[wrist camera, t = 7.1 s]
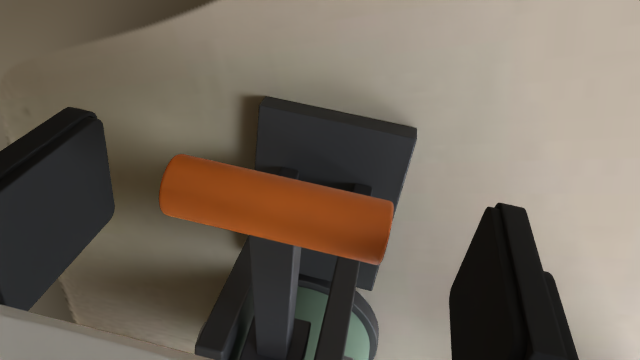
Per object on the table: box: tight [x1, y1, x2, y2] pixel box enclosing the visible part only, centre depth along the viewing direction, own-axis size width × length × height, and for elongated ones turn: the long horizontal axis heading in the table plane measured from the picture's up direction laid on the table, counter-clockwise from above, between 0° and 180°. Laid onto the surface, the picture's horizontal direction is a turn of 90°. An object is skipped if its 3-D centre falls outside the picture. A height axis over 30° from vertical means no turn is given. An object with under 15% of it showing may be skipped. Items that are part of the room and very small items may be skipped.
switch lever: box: [159, 154, 394, 360], centre depth 15 cm, size 12×5×2 cm, turn 171°
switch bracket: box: [195, 96, 417, 360], centre depth 22 cm, size 11×8×13 cm
